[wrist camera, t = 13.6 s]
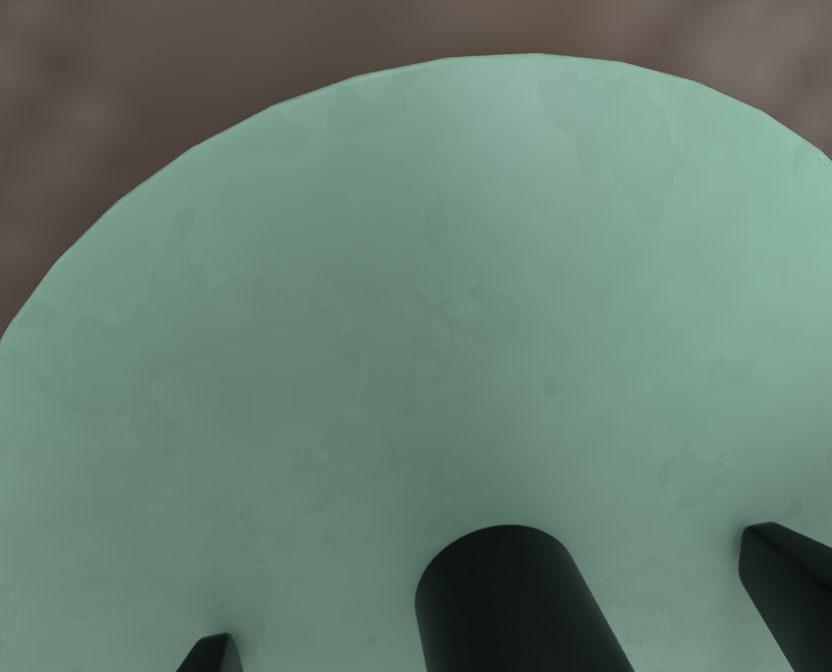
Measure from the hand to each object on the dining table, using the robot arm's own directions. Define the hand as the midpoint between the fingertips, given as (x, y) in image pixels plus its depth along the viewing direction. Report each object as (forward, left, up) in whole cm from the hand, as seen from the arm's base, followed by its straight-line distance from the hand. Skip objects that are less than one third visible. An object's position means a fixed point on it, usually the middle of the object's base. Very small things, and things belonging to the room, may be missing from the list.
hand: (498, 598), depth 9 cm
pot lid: (0, 0, -1) cm, 1 cm away
